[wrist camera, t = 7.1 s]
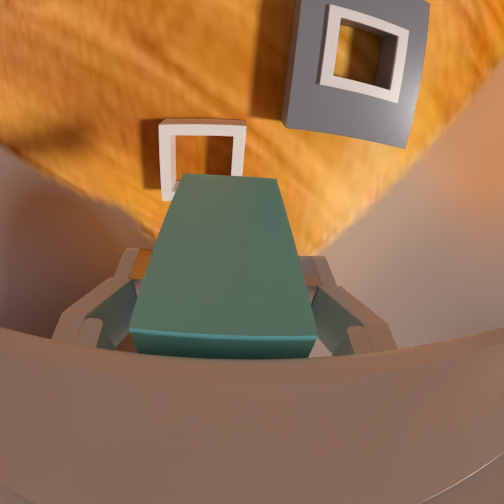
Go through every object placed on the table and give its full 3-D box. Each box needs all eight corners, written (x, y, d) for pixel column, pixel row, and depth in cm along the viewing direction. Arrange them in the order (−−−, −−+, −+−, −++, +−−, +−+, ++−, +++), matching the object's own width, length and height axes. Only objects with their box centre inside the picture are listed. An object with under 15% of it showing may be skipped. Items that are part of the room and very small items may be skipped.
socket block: (280, 120, 25) (286, 128, 22) (298, -31, 15) (306, -42, 12) (391, 139, 26) (406, 150, 23) (413, 5, 16) (431, 3, 14)
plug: (185, 248, 14) (158, 400, 8) (183, 173, 12) (128, 327, 5) (264, 252, 15) (283, 405, 8) (276, 178, 12) (318, 335, 6)
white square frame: (167, 189, 28) (162, 200, 26) (165, 119, 24) (158, 124, 22) (239, 191, 29) (240, 203, 27) (245, 120, 24) (246, 126, 23)
